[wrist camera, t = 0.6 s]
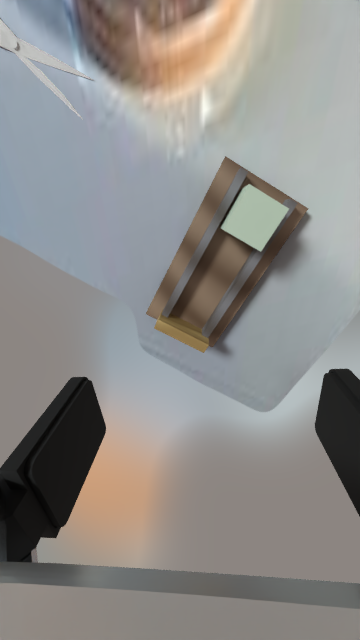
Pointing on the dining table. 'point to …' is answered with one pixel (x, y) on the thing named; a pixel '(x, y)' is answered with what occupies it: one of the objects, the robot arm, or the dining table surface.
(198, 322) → the track
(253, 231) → the pale green cube
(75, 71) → the scissors
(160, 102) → the dining table surface
